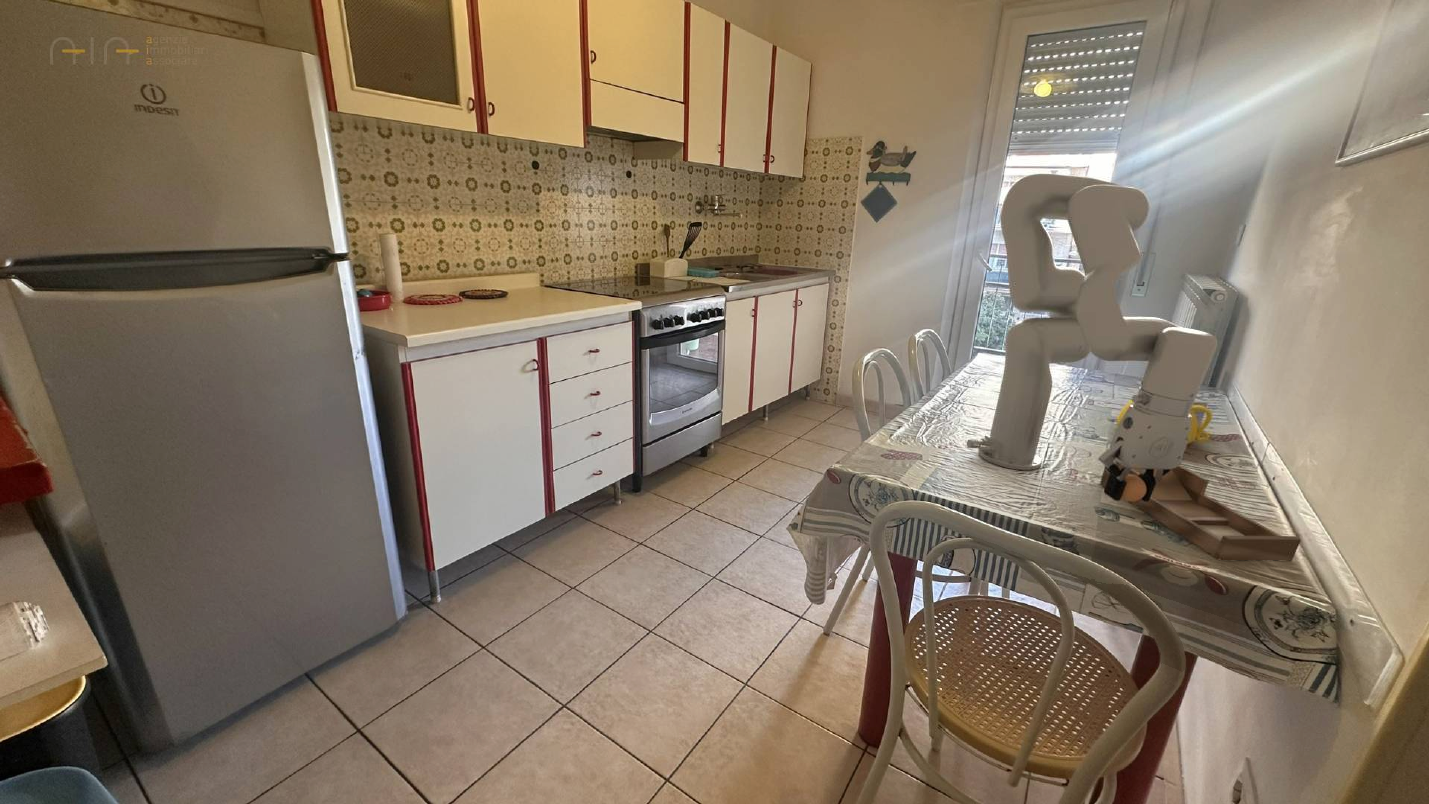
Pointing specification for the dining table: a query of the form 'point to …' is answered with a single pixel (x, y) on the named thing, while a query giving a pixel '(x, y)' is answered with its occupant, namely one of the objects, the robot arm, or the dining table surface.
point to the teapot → (1194, 430)
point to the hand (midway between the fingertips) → (1126, 496)
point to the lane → (1209, 519)
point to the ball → (1133, 488)
